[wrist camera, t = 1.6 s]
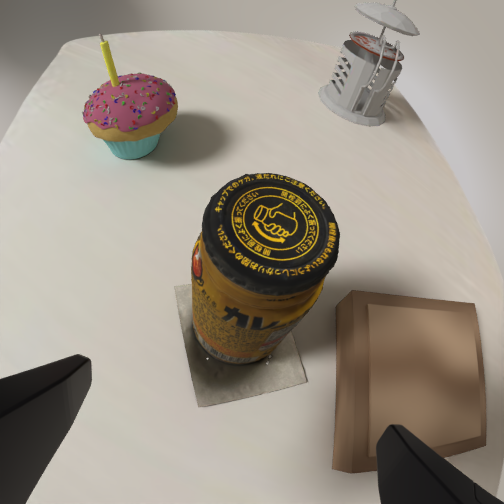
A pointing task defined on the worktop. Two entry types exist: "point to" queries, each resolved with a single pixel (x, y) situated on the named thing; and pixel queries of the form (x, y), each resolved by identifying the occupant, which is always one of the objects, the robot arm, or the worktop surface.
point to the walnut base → (406, 376)
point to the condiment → (254, 285)
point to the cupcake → (130, 110)
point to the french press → (367, 68)
